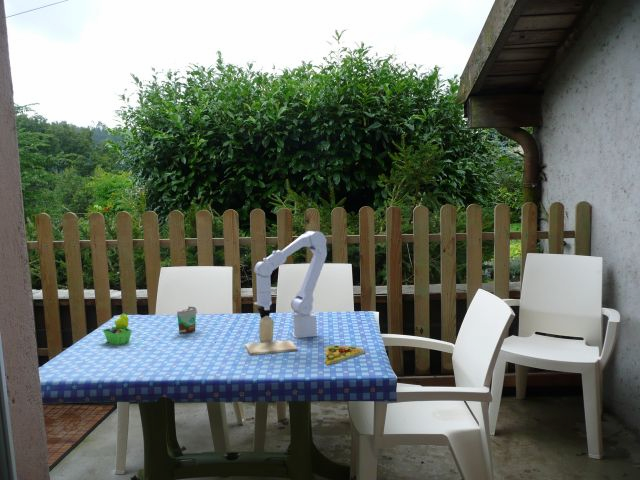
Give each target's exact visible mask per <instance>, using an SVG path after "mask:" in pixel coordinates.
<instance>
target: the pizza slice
mask: <svg viewBox="0 0 640 480" xmlns="http://www.w3.org/2000/svg"><path fill="white" fill-rule="evenodd" d="M363 354H366V350H365V349H364V348H360V347H358V346H351V345H350V346H349V345H328V346H326V347H325V363H326V366H330V365H332V364H336V363H338V362H342V361H344V360H345V361H346V360H348V359H351V358H354V357H357V356H360V355H363Z"/></svg>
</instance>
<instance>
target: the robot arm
mask: <svg viewBox="0 0 640 480" xmlns="http://www.w3.org/2000/svg"><path fill="white" fill-rule="evenodd" d="M327 241H328V240H327V238H326V236H325V235H324V233H323V232H321V231H313V230H308V231H305V233H303V234H301V235H300V236H299V237H297V238H296V239H294V241H293V242H291V243H289V244H288V245H287V246H285V247H284V248H283V249H282V250H279V249H277V250H272V252H271V254H270V255H269V256H267V257H263V259H262V260H263V261H258V262H257V263H256V264H255V266H254V268H253V271H254V273H255V275H256V276H255V277H256V302H253V304H254V305H255V306H256V305H257V307H256V309H257V311H258V314H259V316H260V319H261V318H263V317H265V316H268V317H270V315H271V311H272V310H273V307H272V304H273V302H272V289H271V288H272V284H271V275H272V273H273V271H275V270H276V269H278V267H280V266H282V265H283V264H284V263H285V262H286V261H287V258H288V257H289V256H291V255H292V254H293V253H295V252H297V251H298V250H300V249H302V248H306V247H307V248H309V250H310V251H311V253H312V258H311V259H310V263H309V266H308V269H307V271H306V274H305V277H304V279H303V282H302V285H301V287H300V290H299V291H298V292H297V293H296V294H295V297H294V298H293V299H292V300H291V303H290V308H291V309H292V311H293V314H292V315H293V317H292V319H293V322H292V323H293V332H291V335H292V337H294V338H295V339H298V338H299V339H301V338H302V339H303V338H311V337H312V338H313V337H318V332H317V331H318V329H317V327H318V326H317V316H316V313H312V311H313V302H314V295H313V294H314V291H315V289H316V286H317V283H318V281H319V277H320V275H321V272H322V269H323V267H324V264H325V261H326V258H327V255H328V251H327V250H328V249H327Z"/></svg>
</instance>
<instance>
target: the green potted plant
mask: <svg viewBox="0 0 640 480" xmlns="http://www.w3.org/2000/svg"><path fill="white" fill-rule="evenodd" d="M129 320H130V317H129V316H128V314H126V313H121V314H120V316H119V317H118V318H116V320H114V324H115V326H111V328H106V329H103V330H102V332H103V334H104V335H105V336H104V337H105V339H106V342H107V343H111V344H114V345H117V346H118V345H122V344H126V343H130V338H131V334H132V331H133V330H132V329H130V328H128V327H129V323H130V322H129Z"/></svg>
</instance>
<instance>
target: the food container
mask: <svg viewBox="0 0 640 480" xmlns="http://www.w3.org/2000/svg"><path fill="white" fill-rule="evenodd" d="M197 314H198V309H197V308H196V307H195V306H190V305H189V306H188V308H187V309H183V310H181V311H177V312H176V317H177V323H178V334H179V335H182V334H183V335H185V334H190V333H191V334H192V333H194V332H196V325H197V324H196V323H197V322H196V319H197Z"/></svg>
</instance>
